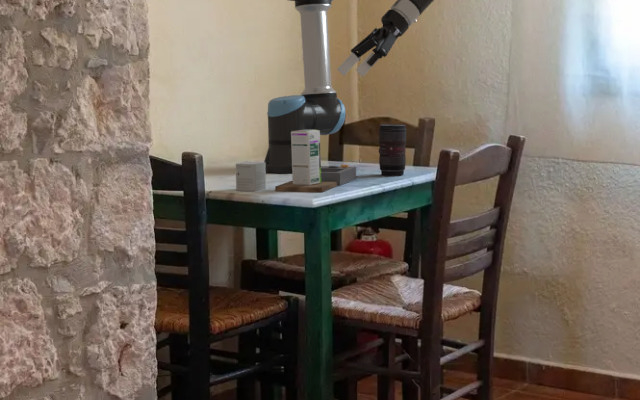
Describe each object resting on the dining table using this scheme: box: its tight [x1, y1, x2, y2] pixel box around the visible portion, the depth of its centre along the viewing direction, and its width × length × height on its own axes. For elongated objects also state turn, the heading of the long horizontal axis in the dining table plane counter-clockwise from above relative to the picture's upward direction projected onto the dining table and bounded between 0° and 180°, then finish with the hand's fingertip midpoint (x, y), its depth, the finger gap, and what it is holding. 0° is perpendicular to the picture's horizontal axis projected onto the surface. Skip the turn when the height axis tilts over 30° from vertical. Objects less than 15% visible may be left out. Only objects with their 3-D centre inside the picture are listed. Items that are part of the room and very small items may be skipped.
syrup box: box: [291, 129, 322, 186], centre depth 251 cm, size 6×6×14 cm
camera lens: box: [378, 124, 407, 177], centre depth 280 cm, size 8×8×15 cm
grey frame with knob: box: [321, 164, 357, 187], centre depth 267 cm, size 12×16×4 cm
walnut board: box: [274, 180, 338, 193], centre depth 252 cm, size 13×13×1 cm
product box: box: [235, 161, 267, 192], centre depth 251 cm, size 6×6×7 cm
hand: (349, 73), depth 259 cm, fingers open, 13 cm apart
